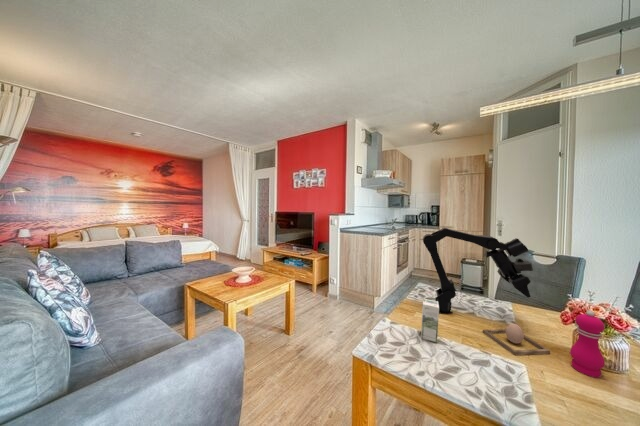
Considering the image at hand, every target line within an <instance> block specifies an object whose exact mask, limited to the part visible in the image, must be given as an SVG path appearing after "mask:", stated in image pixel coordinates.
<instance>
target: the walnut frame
mask: <svg viewBox="0 0 640 426" xmlns="http://www.w3.org/2000/svg"><path fill="white" fill-rule="evenodd" d="M482 333H483V334H484V335H486V336H487V337H488V338H490V339H491V340H492V341H493V342H495V343H496V344H498V345H499V346H501V347H502V348H504V349H505V350H506V351H508V352H509V353H510V354H512V355H513V356H514V357H515V356H534V355H551V350H550V349H548V348H547V347H545V346H544V345H542V344H540V343H538V342H536V341H534V340H533V339H531V338H530V337H529V336H526V335H524V338H523V341H526V342H527V343H528V344H531V345H532V346H534V347H535V349H517V350H516V349H514V348H512V347H511V346H509V345H508V344H506V343H505V342H504V341H502V340H501V339H499V338H498V337H496V336H495V335H494V334H506V328H500V329H499V328H498V329H497V328H496V329H493V328H491V329H482ZM536 348H537V349H536Z"/></svg>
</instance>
